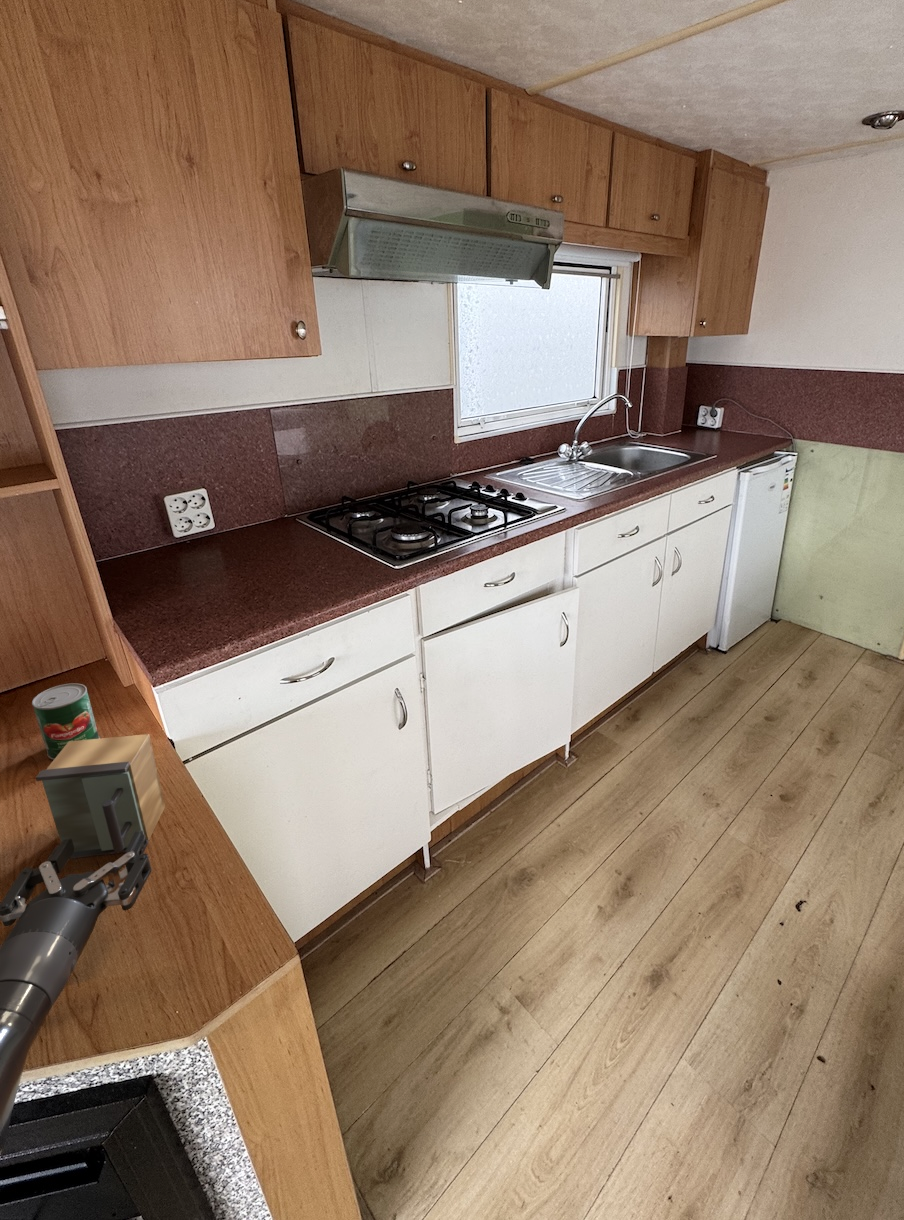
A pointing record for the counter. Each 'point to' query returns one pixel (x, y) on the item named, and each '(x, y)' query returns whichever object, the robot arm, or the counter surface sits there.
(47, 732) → the canned tomato
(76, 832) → the cabinet
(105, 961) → the counter surface
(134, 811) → the slide door
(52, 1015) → the counter surface
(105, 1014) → the counter surface
